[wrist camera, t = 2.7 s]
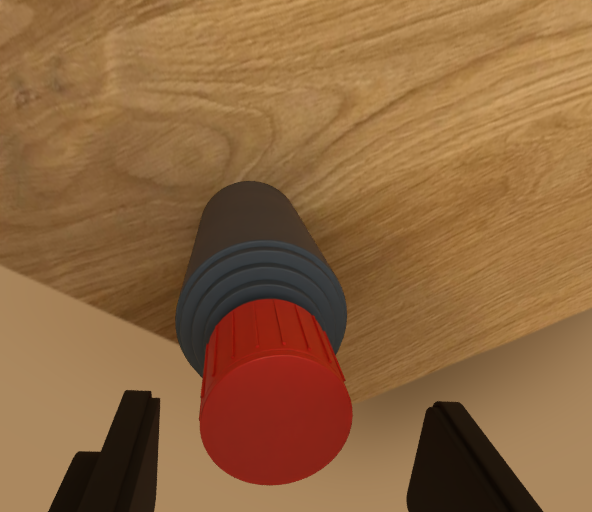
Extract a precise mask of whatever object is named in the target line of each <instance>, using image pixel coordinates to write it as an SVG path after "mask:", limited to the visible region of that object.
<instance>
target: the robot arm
mask: <svg viewBox="0 0 592 512" xmlns="http://www.w3.org/2000/svg"><path fill="white" fill-rule="evenodd" d="M159 417H160V398H152V394H151V391H134V390H126V391H125V392H124V394H123V397H122V399H121V402H120V405H119V407H118V410H117V412H116V415H115V417H114V420H113V422H112V425H111V427H110V430H109V432H108V435H107V437H106V440H105V443H104V445H103V447H102V450H101V452H82V451H79V452H78V453H76V455H75V456H74V458H73V460H72V462H71V464H70V466H69V468H68V470H67V473H66V475H65V477H64V479H63V481H62V483H61V485H60V487H59V490H58V492H57V494H56V496H55V498H54V500H53V502H52V505H51V507H50V509H49V511H48V512H154V508H155V500H156V486H157V463H158V462H157V461H158V439H159ZM407 508H408V511H409V512H543V511H542V509H541V508H540V507H539V506H538V504H537V503H536V501H535V500H534V499H533V497H532V496H531V495H530V494H529V492H528V491H527V490H526V488H525V487H524V486H523V484H522V483H521V482H520V480H519V479H518V478H517V476H516V475H515V474H514V472H513V471H512V470H511V468H510V467H509V466H508V465H507V463H506V462H505V461H504V459H503V458H502V457H501V456H500V454H499V453H498V451H497V450H496V449H495V447H494V446H493V445H492V443H491V442H490V441H489V439H488V438H487V437H486V435H485V434H484V433H483V432H482V430H481V429H480V428H479V426H478V425H477V424H476V422H475V421H474V420H473V418H472V417H471V416H470V414H469V413H468V412H467V410H466V409H465V408H464V406H463V405H462V404H461V403H459V402H441V401H439V402H438V401H437V402H435V403H434V405H433V407H429V408H428V409H427V410H426V414H425V418H424V422H423V427H422V431H421V435H420V440H419V444H418V449H417V453H416V457H415V462H414V466H413V470H412V474H411V479H410V483H409V487H408V492H407Z"/></svg>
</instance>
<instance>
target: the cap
mask: <svg viewBox="0 0 592 512" xmlns="http://www.w3.org/2000/svg"><path fill="white" fill-rule="evenodd" d="M344 381H346V380H345V378H344V375H343V373H342V370H341V368H340V366H339V363H338V361H337V358H336V356H335V354H334V351H333V349H332V346H331V344H330V342H329V339H328V337H327V334H326V332H325V331H323V330H322V328H321V326H320V324H319V323H318V321H317V320H316V319H315V316H314V315H311V314H310V313H309V312H308V311H306V310H305V309H304V308H302V307H300V306H298V305H297V304H294V303H291V302H288V301H284V300H278V299H262V300H256V301H252V302H248V303H246V304H243V305H241V306H239V307H237V308H235V309H234V310H232V311H231V312H229V313H228V314H227V315H226V316H225V317H224V318H223V319H222V320H221V321H220V322H219V323H218V324H217V325H216V326H215V329H214V331H213V333H212V335H211V337H210V340H209V343H208V344H207V345H206V352H205V361H204V370H203V380H202V389H201V405H200V415H199V421H200V433H201V439H202V442H203V445H204V447H205V449H206V451H207V453H208V455H209V456H210V457H211V459H212V460H213V462H214V463H215V464H216V465H217V466H218V467H220V468H221V469H222V470H223V471H225V472H226V473H227V474H229V475H231V476H233V477H234V478H237V479H239V480H242V481H245V482H248V483H252V484H258V485H282V484H288V483H292V482H296V481H299V480H302V479H304V478H307V477H309V476H311V475H313V474H315V473H316V472H317V471H319V470H321V469H322V468H324V467H325V466H326V465H327V464H329V463H330V462H331V461H332V460H333V459H334V458H335V457H336V456H337V454H338V453H339V452H340V450H341V449H342V447H343V446H344V444H345V442H346V440H347V438H348V435H349V433H350V429H351V425H352V416H353V415H352V404H351V399H350V397H349V394H348V391H347V389H346V386H345V384H344Z"/></svg>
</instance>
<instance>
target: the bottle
mask: <svg viewBox="0 0 592 512" xmlns="http://www.w3.org/2000/svg"><path fill="white" fill-rule="evenodd" d="M262 299H278V300H284V301H288V302H291V303H294V304H297V305H298V306H300V307H302V308H304V309H305V310H306V311H308V312H309V313H310V314H311V315H314V316H315V319H316V320H317V321H318V323H319V324H320V326H321V328H322V330H323V331H325V332H326V334H327V337H328V339H329V342H330V344H331V346H332V349H333V351H334V354H335V355H336V354H337V352H338V349H339V347H340V345H341V342H342V340H343V337H344V333H345V329H346V322H347V306H346V301H345V296H344V293H343V290H342V287H341V285H340V283H339V281H338V279H337V277H336V276H335V274H334V273H333V271H332V269H331V268H330V266H329V264H328V263H327V261H326V259H325V258H324V256H323V255H322V253H321V251H320V250H319V248H318V246H317V245H316V243H315V241H314V240H313V238H312V237H311V235H310V233H309V232H308V230H307V228H306V227H305V225H304V224H303V222H302V220H301V219H300V217H299V215H298V214H297V212H296V210H295V209H294V207H293V206H292V204H291V203H290V201H289V200H288V199H287V198H286V196H285V195H284V194H282V193H281V192H280V191H279V190H277V189H276V188H274V187H272V186H270V185H268V184H264V183H261V182H255V181H244V182H238V183H234V184H232V185H229V186H227V187H225V188H223V189H222V190H220V191H219V192H217V193H216V194H215V195H214V196H213V197H212V198H211V200H210V201H209V202H208V204H207V205H206V207H205V209H204V211H203V214H202V217H201V221H200V225H199V228H198V232H197V235H196V239H195V243H194V246H193V250H192V253H191V257H190V261H189V264H188V268H187V271H186V275H185V279H184V282H183V286H182V289H181V293H180V296H179V300H178V304H177V308H176V316H175V322H176V333H177V338H178V341H179V344H180V347H181V350H182V352H183V353H184V355H185V357H186V359H187V360H188V362H189V363H190V365H191V366H192V367H193V368H194V369H195V370H196V371H197V373H198V374H199V375H200V376H201V377H202V378H203V370H204V361H205V352H206V345H207V344H208V343H209V340H210V337H211V335H212V333H213V331H214V329H215V326H216V325H217V324H218V323H219V322H220V321H221V320H222V319H223V318H224V317H225V316H226V315H227V314H228V313H229V312H231V311H232V310H234V309H235V308H237V307H239V306H241V305H243V304H246V303H248V302H252V301H256V300H262Z"/></svg>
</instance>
